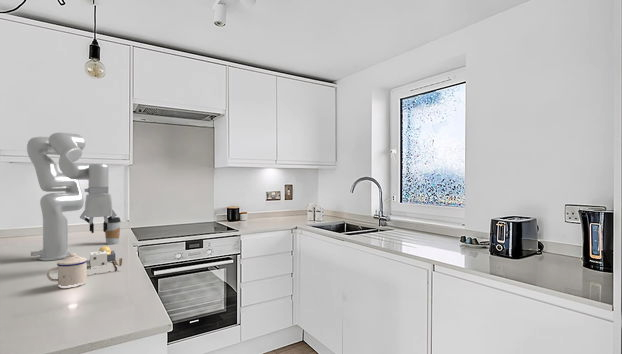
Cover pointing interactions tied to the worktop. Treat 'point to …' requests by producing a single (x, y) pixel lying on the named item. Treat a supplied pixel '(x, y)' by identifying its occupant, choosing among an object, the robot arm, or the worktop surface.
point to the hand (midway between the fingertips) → (98, 231)
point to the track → (119, 261)
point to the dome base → (111, 256)
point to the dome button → (105, 249)
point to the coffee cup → (113, 231)
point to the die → (98, 258)
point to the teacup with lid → (70, 270)
